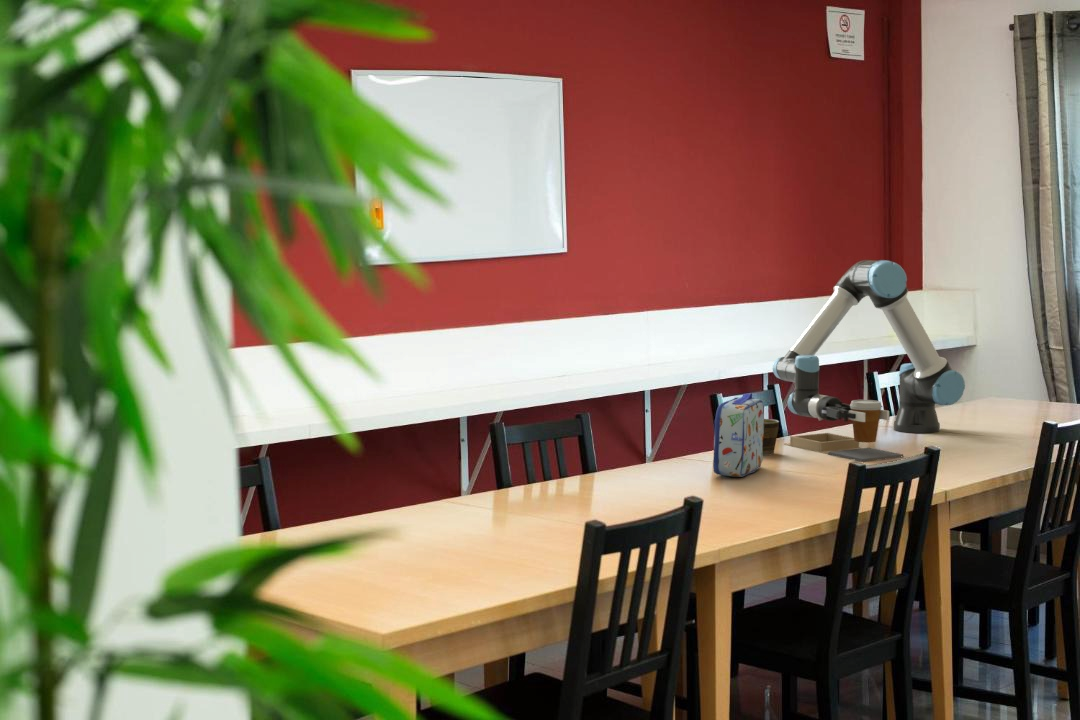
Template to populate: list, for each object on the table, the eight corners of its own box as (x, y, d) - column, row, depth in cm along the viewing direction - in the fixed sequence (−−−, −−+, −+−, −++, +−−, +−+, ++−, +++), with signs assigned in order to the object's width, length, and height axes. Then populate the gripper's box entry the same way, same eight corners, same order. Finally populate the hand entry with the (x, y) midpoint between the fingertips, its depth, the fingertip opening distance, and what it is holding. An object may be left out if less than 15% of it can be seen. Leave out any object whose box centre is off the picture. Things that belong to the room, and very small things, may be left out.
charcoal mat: (868, 450, 401) (868, 447, 401) (903, 457, 388) (903, 454, 388) (828, 454, 393) (828, 451, 393) (862, 461, 380) (862, 459, 380)
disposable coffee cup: (845, 442, 388) (846, 402, 387) (853, 437, 396) (854, 398, 395) (877, 444, 384) (878, 404, 383) (884, 440, 392) (885, 400, 391)
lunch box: (731, 463, 380) (732, 388, 378) (767, 465, 376) (767, 390, 374) (709, 479, 355) (709, 400, 352) (746, 482, 351) (747, 401, 349)
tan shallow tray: (821, 440, 420) (821, 431, 420) (865, 449, 401) (865, 440, 401) (784, 444, 413) (784, 435, 413) (827, 453, 395) (827, 444, 394)
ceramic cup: (756, 449, 404) (756, 417, 403) (784, 452, 398) (785, 420, 397) (734, 455, 394) (735, 422, 393) (763, 458, 388) (764, 425, 387)
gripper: (852, 417, 410) (903, 426, 390) (799, 422, 401) (848, 431, 381) (853, 394, 410) (903, 401, 390) (799, 397, 400) (848, 406, 380)
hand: (876, 416), depth 385 cm, fingers closed on disposable coffee cup, 8 cm apart
